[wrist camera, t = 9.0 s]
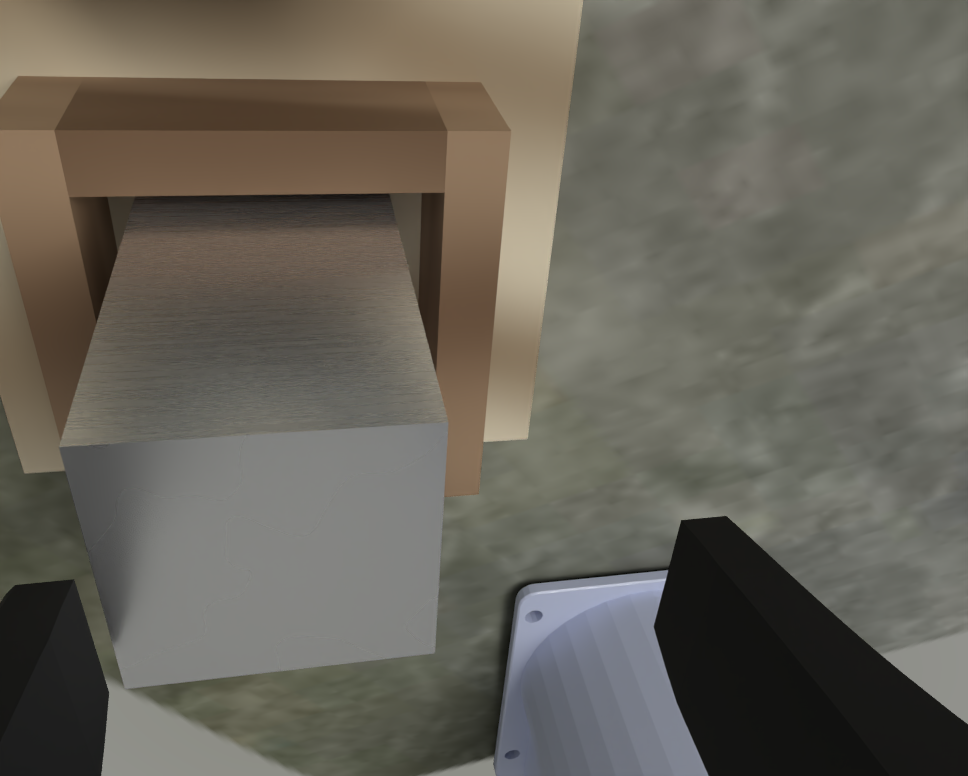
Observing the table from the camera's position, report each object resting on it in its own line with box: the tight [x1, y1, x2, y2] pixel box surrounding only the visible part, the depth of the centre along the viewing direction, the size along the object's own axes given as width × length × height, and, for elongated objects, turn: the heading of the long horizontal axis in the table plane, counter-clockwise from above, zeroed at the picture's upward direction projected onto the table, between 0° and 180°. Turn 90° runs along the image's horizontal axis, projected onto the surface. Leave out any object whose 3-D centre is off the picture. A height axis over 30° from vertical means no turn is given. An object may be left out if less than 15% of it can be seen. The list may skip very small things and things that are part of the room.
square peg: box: [59, 193, 448, 689], centre depth 14 cm, size 4×4×8 cm
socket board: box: [0, 0, 583, 497], centre depth 14 cm, size 18×11×4 cm, turn 176°
